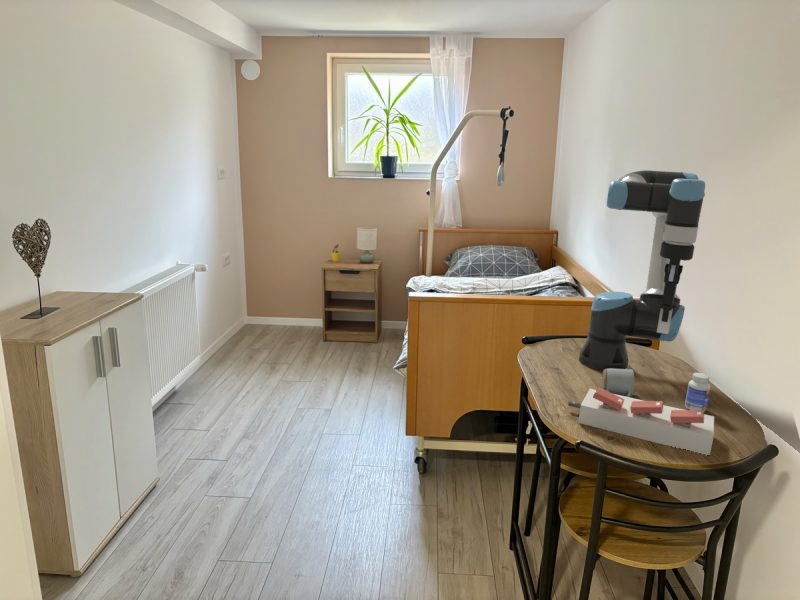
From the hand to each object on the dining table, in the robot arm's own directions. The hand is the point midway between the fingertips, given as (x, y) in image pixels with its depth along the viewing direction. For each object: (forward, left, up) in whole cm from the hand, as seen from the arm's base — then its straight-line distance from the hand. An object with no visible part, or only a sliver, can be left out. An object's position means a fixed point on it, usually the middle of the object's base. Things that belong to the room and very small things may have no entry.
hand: (662, 332), depth 152 cm
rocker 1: (+15, -9, -15) cm, 23 cm away
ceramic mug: (-6, -9, -23) cm, 25 cm away
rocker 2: (+15, 0, -15) cm, 21 cm away
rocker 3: (+15, +9, -15) cm, 23 cm away
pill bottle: (-9, +11, -23) cm, 27 cm away
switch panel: (+12, -2, -22) cm, 25 cm away
